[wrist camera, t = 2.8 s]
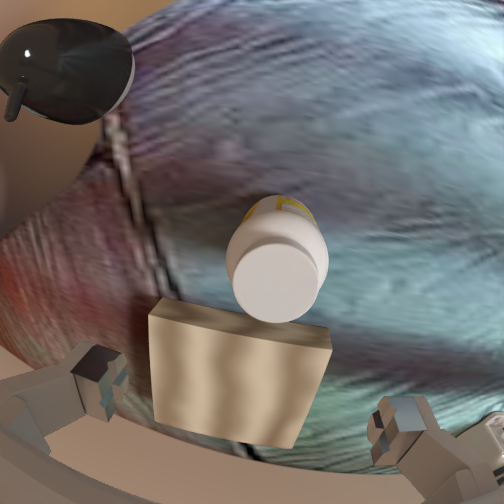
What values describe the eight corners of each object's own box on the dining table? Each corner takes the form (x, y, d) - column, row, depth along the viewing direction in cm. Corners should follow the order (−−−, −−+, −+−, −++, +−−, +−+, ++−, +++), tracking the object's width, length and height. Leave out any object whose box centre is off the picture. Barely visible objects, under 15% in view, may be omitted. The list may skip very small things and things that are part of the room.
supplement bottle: (252, 268, 30) (229, 345, 17) (236, 202, 28) (197, 238, 16) (320, 256, 28) (343, 328, 16) (308, 187, 27) (327, 212, 14)
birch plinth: (328, 328, 31) (332, 350, 27) (292, 427, 36) (291, 449, 32) (162, 297, 32) (148, 314, 28) (164, 401, 37) (155, 421, 33)
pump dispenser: (75, 139, 27) (-35, 146, 13) (70, 59, 24) (-27, 34, 10) (154, 113, 26) (46, 89, 11) (146, 26, 23) (58, -36, 8)
